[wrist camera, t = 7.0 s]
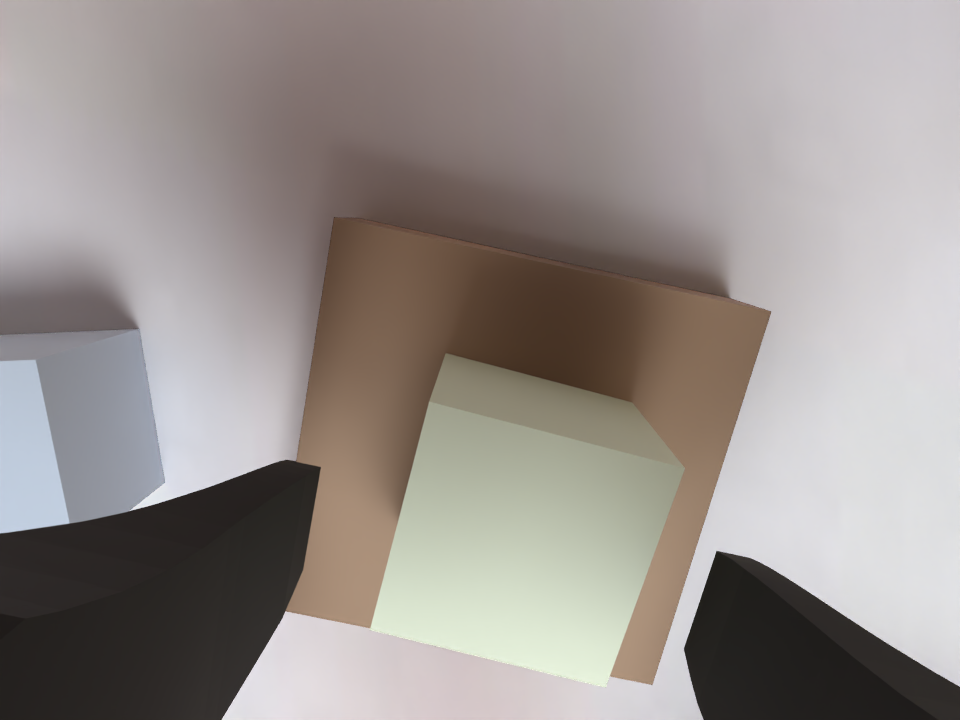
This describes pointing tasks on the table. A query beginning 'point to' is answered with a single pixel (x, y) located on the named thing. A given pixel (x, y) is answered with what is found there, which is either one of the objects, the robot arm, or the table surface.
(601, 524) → the sage block
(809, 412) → the table surface
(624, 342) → the walnut slab
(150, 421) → the blue block
